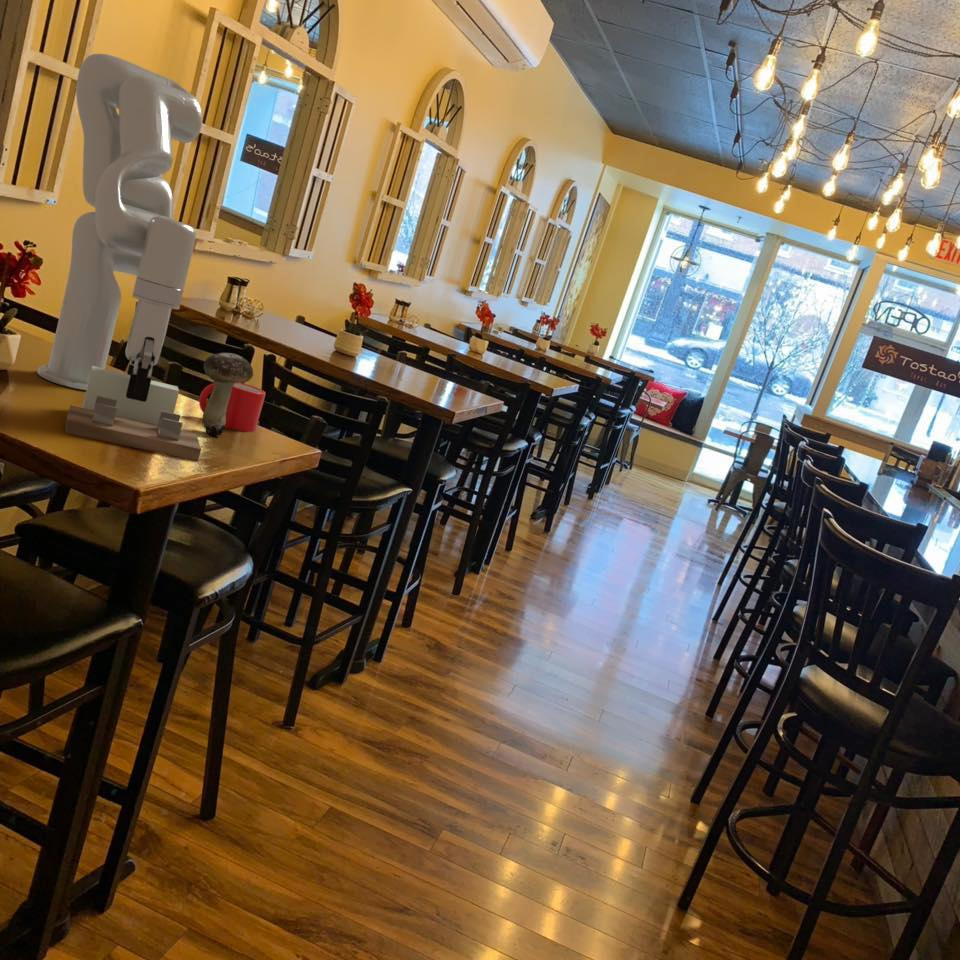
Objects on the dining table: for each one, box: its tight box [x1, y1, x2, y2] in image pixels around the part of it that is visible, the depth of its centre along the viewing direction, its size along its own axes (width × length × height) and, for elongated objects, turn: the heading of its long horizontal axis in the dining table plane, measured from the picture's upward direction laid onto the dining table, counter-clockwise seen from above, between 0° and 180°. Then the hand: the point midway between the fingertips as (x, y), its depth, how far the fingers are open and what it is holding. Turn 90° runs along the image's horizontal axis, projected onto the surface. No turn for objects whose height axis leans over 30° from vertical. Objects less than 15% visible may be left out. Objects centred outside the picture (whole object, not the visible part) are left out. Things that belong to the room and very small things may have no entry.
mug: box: [198, 382, 266, 433], centre depth 182 cm, size 8×12×8 cm, turn 119°
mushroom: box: [202, 352, 254, 436], centre depth 168 cm, size 9×9×15 cm
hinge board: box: [64, 396, 202, 462], centre depth 149 cm, size 10×20×5 cm, turn 111°
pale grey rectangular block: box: [81, 366, 180, 425], centre depth 158 cm, size 4×14×8 cm, turn 111°
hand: (134, 394), depth 157 cm, fingers open, 9 cm apart
